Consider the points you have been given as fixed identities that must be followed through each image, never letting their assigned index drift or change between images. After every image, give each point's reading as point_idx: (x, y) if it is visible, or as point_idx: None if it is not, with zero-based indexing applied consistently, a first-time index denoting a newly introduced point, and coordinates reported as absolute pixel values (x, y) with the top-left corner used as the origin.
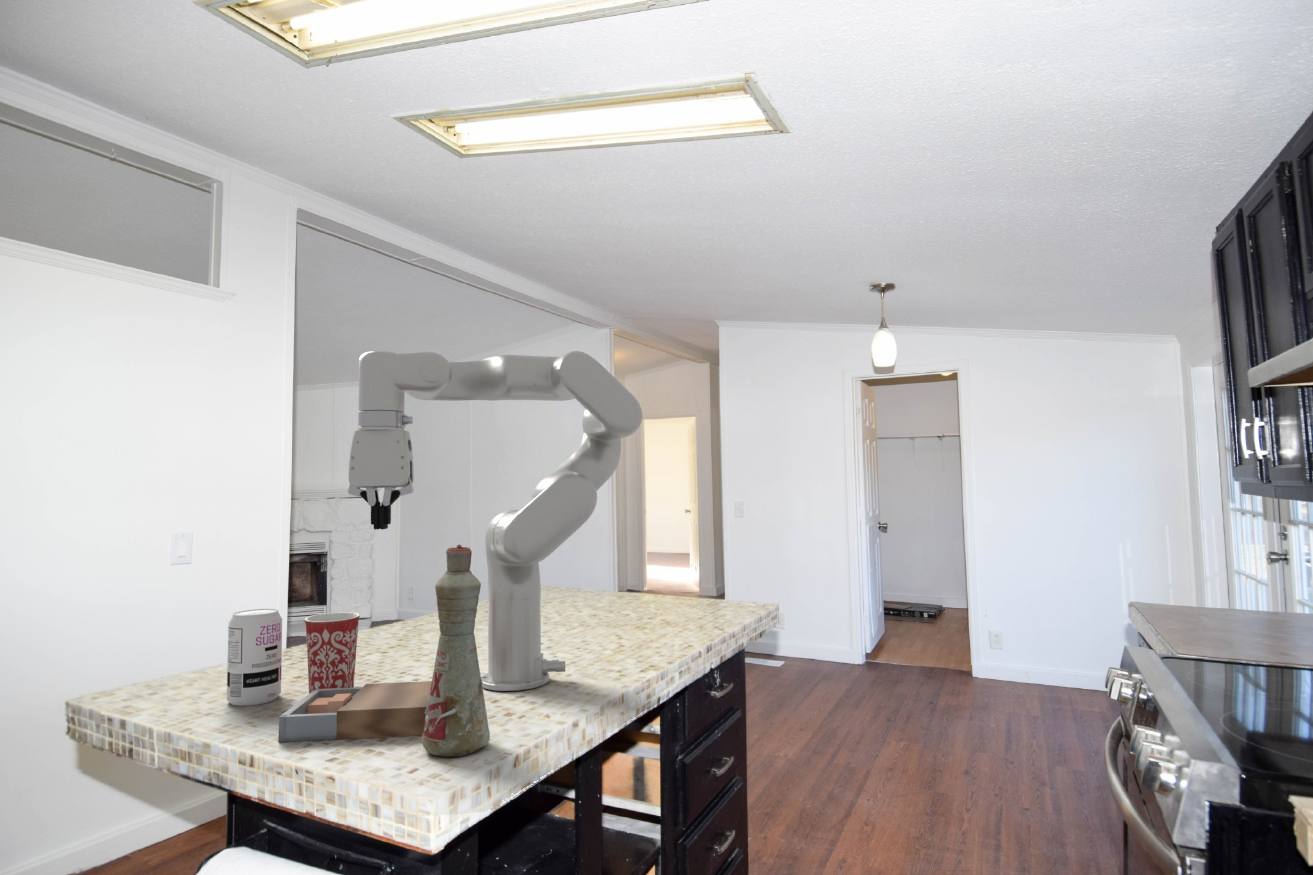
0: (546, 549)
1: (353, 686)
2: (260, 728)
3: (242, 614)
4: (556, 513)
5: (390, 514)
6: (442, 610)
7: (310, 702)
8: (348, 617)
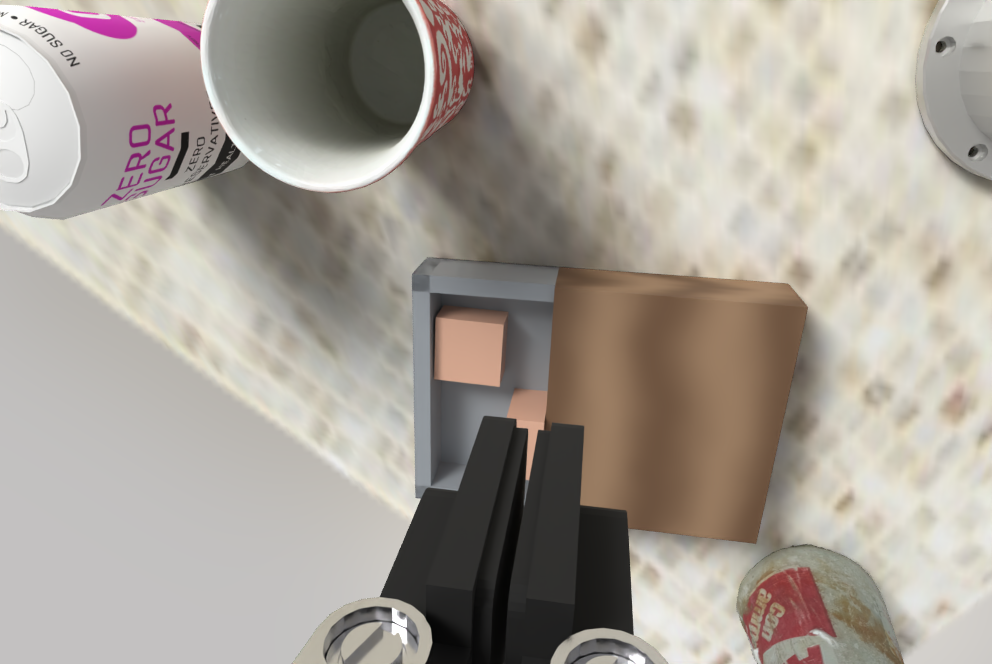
0: None
1: (472, 61)
2: (349, 367)
3: None
4: None
5: (627, 585)
6: None
7: (433, 355)
8: None
